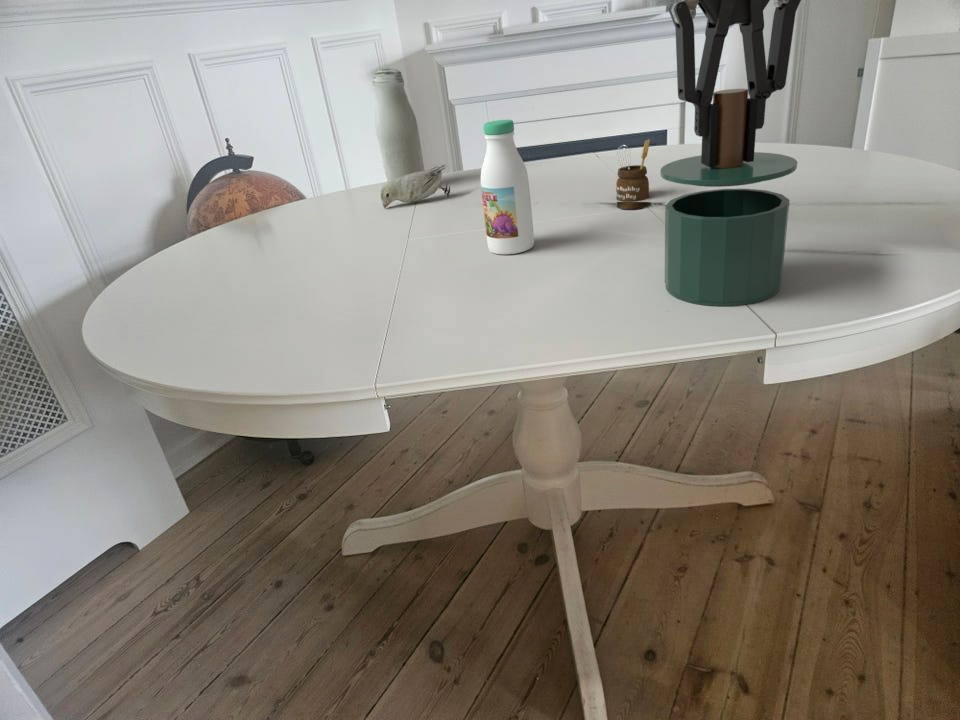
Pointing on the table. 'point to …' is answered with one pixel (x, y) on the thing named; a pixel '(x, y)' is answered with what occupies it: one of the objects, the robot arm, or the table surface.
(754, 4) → the robot arm
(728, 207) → the canister
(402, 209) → the table surface
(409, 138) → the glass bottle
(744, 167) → the lid
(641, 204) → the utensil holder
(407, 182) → the decorative bird
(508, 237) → the milk bottle
